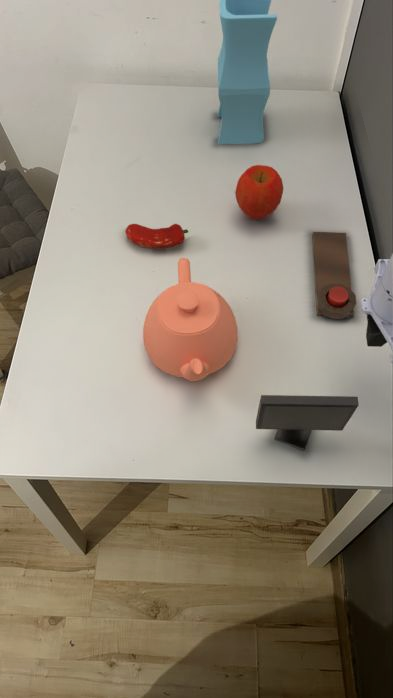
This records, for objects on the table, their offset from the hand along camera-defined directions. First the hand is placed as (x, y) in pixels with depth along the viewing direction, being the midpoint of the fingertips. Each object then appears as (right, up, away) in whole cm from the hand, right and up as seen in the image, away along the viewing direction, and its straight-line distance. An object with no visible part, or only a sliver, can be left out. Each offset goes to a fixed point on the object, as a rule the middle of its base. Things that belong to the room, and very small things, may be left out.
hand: (374, 342), depth 70 cm
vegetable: (-32, +19, +23) cm, 44 cm away
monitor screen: (-10, -12, 0) cm, 16 cm away
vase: (-15, +47, +39) cm, 63 cm away
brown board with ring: (-1, +12, +19) cm, 22 cm away
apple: (-13, +24, +26) cm, 38 cm away
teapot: (-26, -1, +12) cm, 28 cm away
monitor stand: (-10, -14, +4) cm, 18 cm away
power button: (-1, +7, +13) cm, 15 cm away
